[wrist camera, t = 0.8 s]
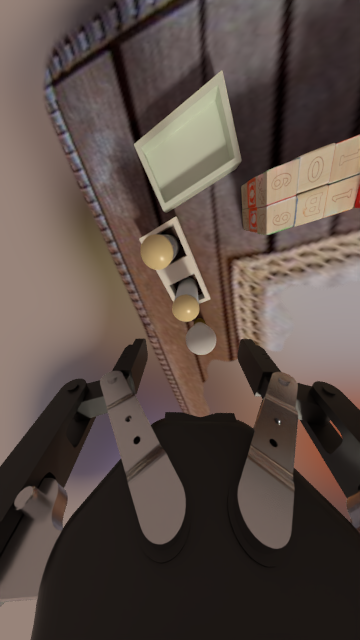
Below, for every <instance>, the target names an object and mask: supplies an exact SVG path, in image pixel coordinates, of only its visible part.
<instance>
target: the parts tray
mask: <svg viewBox="0 0 360 640" xmlns="http://www.w3.org/2000/svg"><path fill="white" fill-rule="evenodd" d="M134 146H135V148H136V151H137V153H138V155H139V158H140V160H141V162H142V164H143V167H144V169H145V171H146V173H147V176H148V178H149V180H150V182H151V185H152V187H153V189H154V191H155V194H156V196H157V198H158V200H159V203H160V205H161V207H162V209H163V211H164V212H165V213H168V212H169V211H171V210H172V209H174V208H175V207H177V206H179V205H180V204H182V203H183V202H185V201H187V200H188V199H190V198H191V197H193V196H194V195H196V194H198V193H199V192H201V191H202V190H204V189H205V188H207V187H209V186H210V185H212V184H213V183H215V182H217V181H218V180H220V179H221V178H223V177H224V176H226V175H228V174H229V173H231V172H232V171H234V170H235V169H237V167H238V166H239V164H240V163H241V161H242V159H241V155H240V150H239V145H238V141H237V136H236V132H235V127H234V122H233V118H232V113H231V108H230V104H229V99H228V94H227V90H226V85H225V81H224V76H223V71H220V72H219V73H218V74H217V75H216V76H214V77H213V78H212V79H211V80H210V81H209V82H207V83H206V84H205V85H204V86H203V87H201V88H200V89H199V90H198V91H197V92H195V93H194V94H193V95H192V96H191V97H190V98H188V99H187V100H186V101H185V102H184V103H182V104H181V105H180V106H179V107H178V108H176V109H175V110H174V111H173V112H172V113H170V114H169V115H168V116H167V117H166V118H165V119H163V120H162V121H161V122H160V123H159V124H157V125H156V126H155V127H154V128H153V129H151V130H150V131H149V132H148V133H147V134H146V135H144V136H143V137H142V138H141V139H140V140H138V141H137V142H136V143H135V144H134Z"/></svg>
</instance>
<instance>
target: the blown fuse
mask: <svg viewBox="0 0 360 640" xmlns="http://www.w3.org/2000/svg"><path fill="white" fill-rule="evenodd" d="M179 249H180V245H179V242H178V240H177V239H176V237H174V236H172V235H159V234H154V235H150V236H148V237H146V238H145V239H144V241H143V242H142V245H141V257H142V259H143V261H144V263H145V264H146V265H147V266H148V267H150V268H152V269H155V270H161V269H164V268H166V267H167V266H168V265H169V264H170V263H171V261H172V260H173V259H174V258H175V257H176V255H177V254H178V252H179Z"/></svg>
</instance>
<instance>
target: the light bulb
mask: <svg viewBox="0 0 360 640" xmlns="http://www.w3.org/2000/svg"><path fill="white" fill-rule="evenodd" d="M186 343H187V346H188V348H189V349H190V350H191V351H192V352H193V353H195V354H198V355H204V354H207V353H209V352H211V351H212V350H213V349H214V347H215V345H216V335H215V333H214V331H213V330H212V329H211V328H210V327H208V326H207V325H206V323H205V321H204V320H203V319H201V318H199V319H196V320H195V321H194V326H193V327H192V328H191V329H190V330H189V331H188V333H187V335H186Z"/></svg>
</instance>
